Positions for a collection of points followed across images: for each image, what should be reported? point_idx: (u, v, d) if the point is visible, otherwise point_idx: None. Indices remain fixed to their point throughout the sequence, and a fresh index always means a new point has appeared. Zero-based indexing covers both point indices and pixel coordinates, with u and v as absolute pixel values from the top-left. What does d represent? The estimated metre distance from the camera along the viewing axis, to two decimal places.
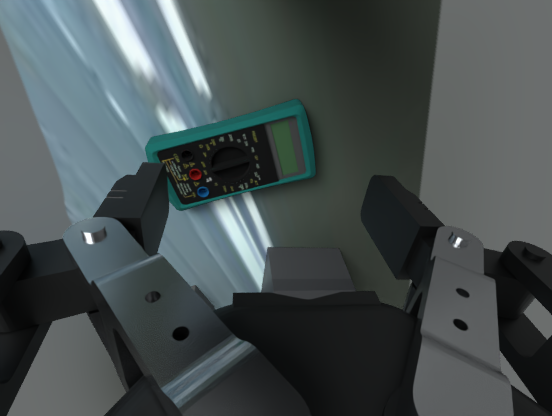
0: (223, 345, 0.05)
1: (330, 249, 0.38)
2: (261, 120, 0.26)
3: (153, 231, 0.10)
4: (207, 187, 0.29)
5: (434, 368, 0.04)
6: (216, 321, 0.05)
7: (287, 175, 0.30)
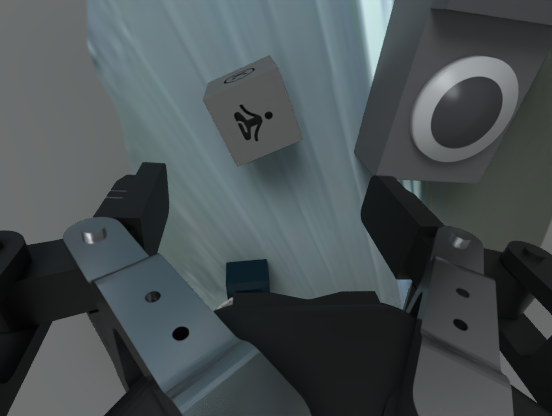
0: (223, 345, 0.05)
1: None
2: None
3: (153, 231, 0.10)
4: None
5: (434, 368, 0.04)
6: (216, 321, 0.05)
7: None
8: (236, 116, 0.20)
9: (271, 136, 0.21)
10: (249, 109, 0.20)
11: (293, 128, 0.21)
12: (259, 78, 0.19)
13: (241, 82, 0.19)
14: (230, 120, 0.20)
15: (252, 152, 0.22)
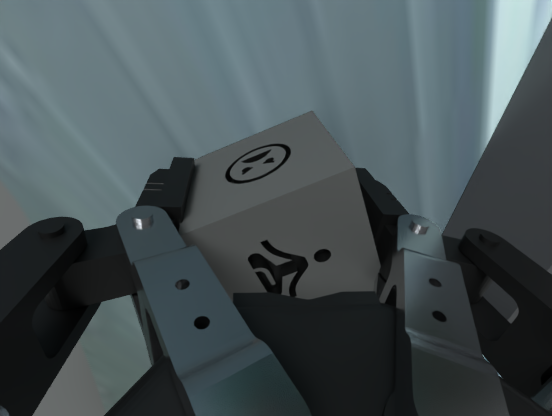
0: (239, 340, 0.05)
1: None
2: None
3: None
4: None
5: (434, 368, 0.04)
6: (216, 321, 0.05)
7: None
8: (252, 255, 0.10)
9: (323, 288, 0.10)
10: (281, 248, 0.09)
11: (371, 273, 0.10)
12: (309, 190, 0.08)
13: (266, 197, 0.08)
14: (239, 268, 0.09)
15: None
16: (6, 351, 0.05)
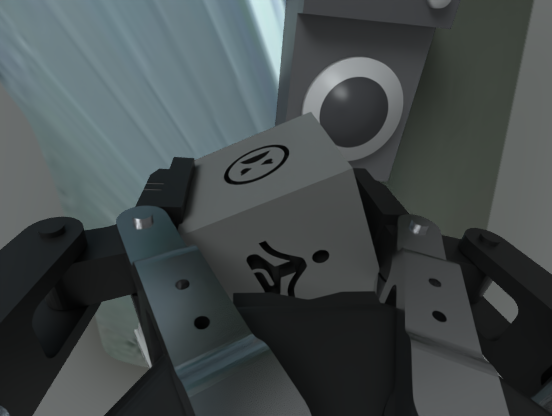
0: (240, 340, 0.05)
1: None
2: None
3: None
4: None
5: (434, 368, 0.04)
6: (216, 321, 0.05)
7: None
8: (250, 256, 0.10)
9: (322, 288, 0.10)
10: (280, 249, 0.09)
11: (369, 274, 0.10)
12: (307, 191, 0.08)
13: (265, 198, 0.08)
14: (238, 268, 0.09)
15: None
16: (6, 351, 0.05)
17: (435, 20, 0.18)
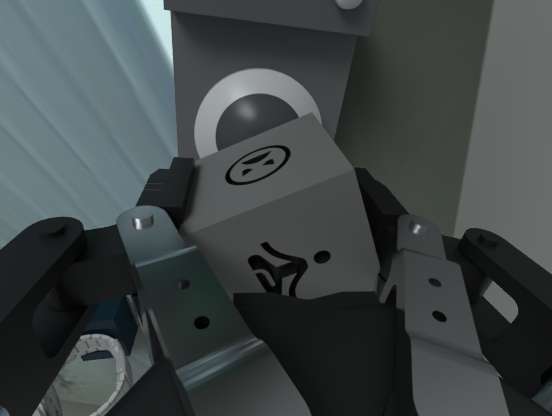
0: (240, 340, 0.05)
1: None
2: None
3: None
4: None
5: (434, 368, 0.04)
6: (216, 321, 0.05)
7: None
8: (252, 256, 0.10)
9: (323, 289, 0.10)
10: (281, 249, 0.09)
11: (370, 275, 0.10)
12: (309, 192, 0.08)
13: (266, 199, 0.08)
14: (239, 269, 0.09)
15: None
16: (6, 351, 0.05)
17: (348, 25, 0.14)
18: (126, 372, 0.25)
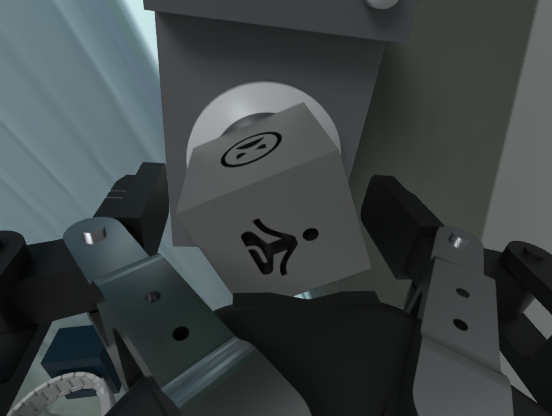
0: (223, 345, 0.05)
1: None
2: None
3: (153, 231, 0.10)
4: None
5: (434, 368, 0.04)
6: (216, 321, 0.05)
7: None
8: (245, 234, 0.10)
9: (312, 266, 0.11)
10: (272, 226, 0.10)
11: (356, 253, 0.11)
12: (297, 171, 0.09)
13: (258, 178, 0.09)
14: (233, 245, 0.10)
15: (274, 291, 0.11)
16: None
17: (379, 29, 0.11)
18: None
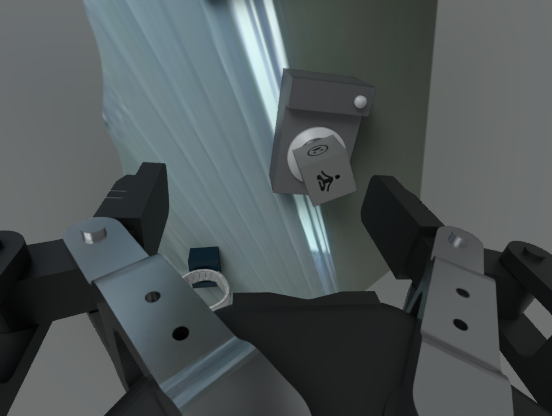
0: (223, 345, 0.05)
1: (346, 76, 0.38)
2: None
3: (153, 231, 0.10)
4: None
5: (434, 368, 0.04)
6: (216, 321, 0.05)
7: None
8: (317, 176, 0.33)
9: (337, 188, 0.33)
10: (326, 173, 0.32)
11: (351, 184, 0.33)
12: (335, 156, 0.31)
13: (323, 158, 0.32)
14: (314, 179, 0.33)
15: (324, 198, 0.34)
16: None
17: (359, 112, 0.34)
18: (229, 286, 0.44)
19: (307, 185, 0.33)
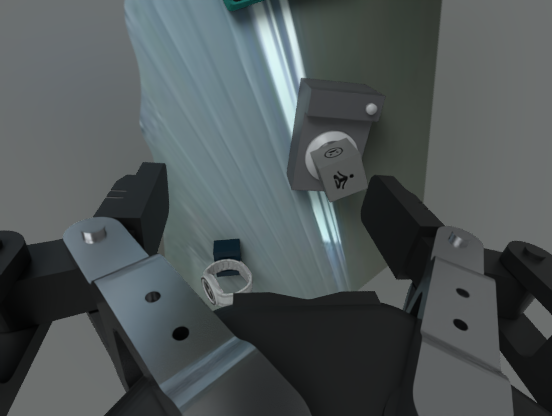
0: (223, 345, 0.05)
1: (358, 84, 0.42)
2: None
3: (153, 231, 0.10)
4: None
5: (434, 368, 0.04)
6: (216, 321, 0.05)
7: None
8: (333, 176, 0.37)
9: (351, 186, 0.38)
10: (341, 173, 0.37)
11: (363, 182, 0.38)
12: (349, 158, 0.36)
13: (339, 160, 0.36)
14: (331, 178, 0.37)
15: (339, 194, 0.38)
16: None
17: (370, 118, 0.38)
18: (251, 274, 0.49)
19: (325, 184, 0.37)
